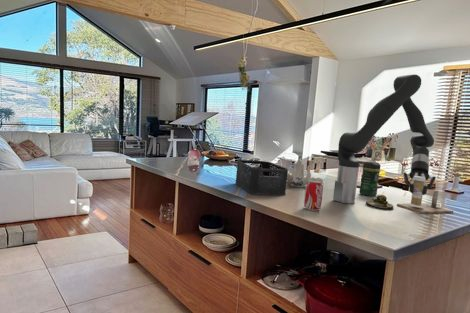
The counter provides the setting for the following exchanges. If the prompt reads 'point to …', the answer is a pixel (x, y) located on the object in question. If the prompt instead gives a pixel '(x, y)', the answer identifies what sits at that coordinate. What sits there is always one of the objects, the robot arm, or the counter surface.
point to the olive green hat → (380, 202)
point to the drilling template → (427, 206)
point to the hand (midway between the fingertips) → (417, 192)
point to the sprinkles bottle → (417, 190)
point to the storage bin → (261, 178)
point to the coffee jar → (370, 178)
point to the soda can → (313, 195)
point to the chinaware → (300, 175)
